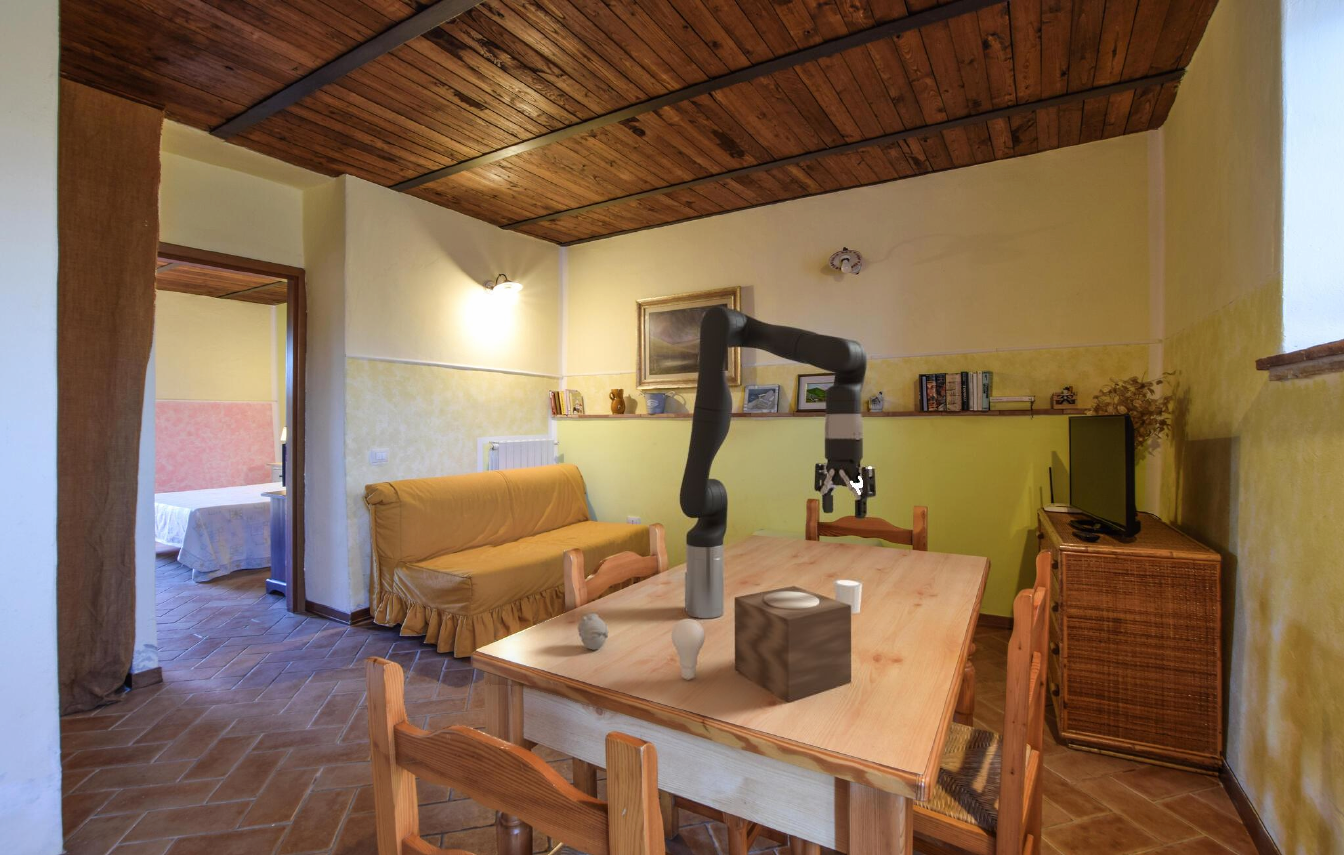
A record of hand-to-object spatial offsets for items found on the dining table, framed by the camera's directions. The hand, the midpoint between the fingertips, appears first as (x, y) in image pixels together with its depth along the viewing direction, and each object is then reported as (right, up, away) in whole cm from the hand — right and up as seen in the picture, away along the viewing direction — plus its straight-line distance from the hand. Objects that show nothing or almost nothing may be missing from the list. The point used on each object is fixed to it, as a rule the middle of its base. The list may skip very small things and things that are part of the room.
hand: (843, 515), depth 120 cm
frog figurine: (-52, -29, +3) cm, 59 cm away
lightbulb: (-32, -29, -12) cm, 45 cm away
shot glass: (+9, -28, +28) cm, 41 cm away
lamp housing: (-13, -28, -11) cm, 33 cm away
